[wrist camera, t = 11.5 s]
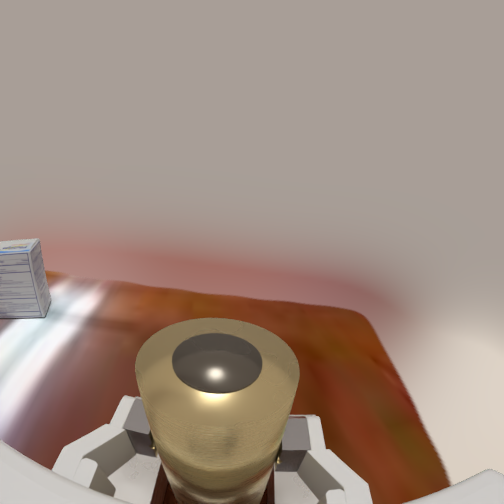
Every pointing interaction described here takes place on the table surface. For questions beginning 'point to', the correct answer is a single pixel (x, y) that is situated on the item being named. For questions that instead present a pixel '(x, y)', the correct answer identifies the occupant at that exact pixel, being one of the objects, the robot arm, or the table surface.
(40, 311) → the medicine box
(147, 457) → the aluminium jig
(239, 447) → the brass bushing
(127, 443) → the robot arm
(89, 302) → the table surface
